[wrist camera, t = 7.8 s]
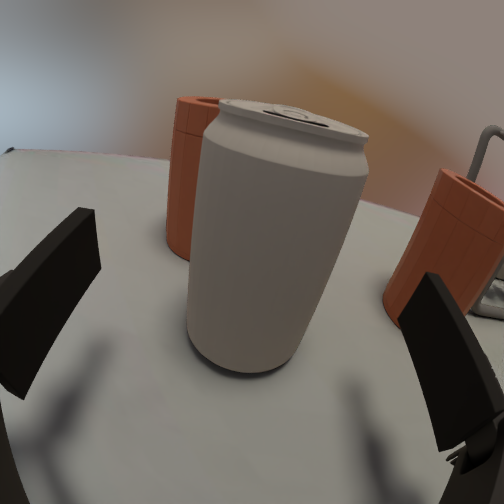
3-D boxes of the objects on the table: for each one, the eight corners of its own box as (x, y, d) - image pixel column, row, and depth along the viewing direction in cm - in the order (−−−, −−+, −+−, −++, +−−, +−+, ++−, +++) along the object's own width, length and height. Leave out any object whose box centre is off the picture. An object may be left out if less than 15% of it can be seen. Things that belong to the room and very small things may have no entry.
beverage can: (175, 368, 13) (188, 100, 7) (197, 287, 19) (223, 92, 12) (299, 386, 14) (409, 153, 7) (293, 303, 19) (352, 121, 13)
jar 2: (456, 316, 21) (516, 210, 15) (438, 358, 16) (525, 227, 10) (399, 275, 25) (448, 167, 19) (368, 305, 20) (432, 167, 14)
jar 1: (268, 250, 24) (301, 117, 18) (196, 276, 20) (217, 109, 14) (218, 213, 28) (237, 99, 22) (152, 228, 23) (160, 95, 17)
